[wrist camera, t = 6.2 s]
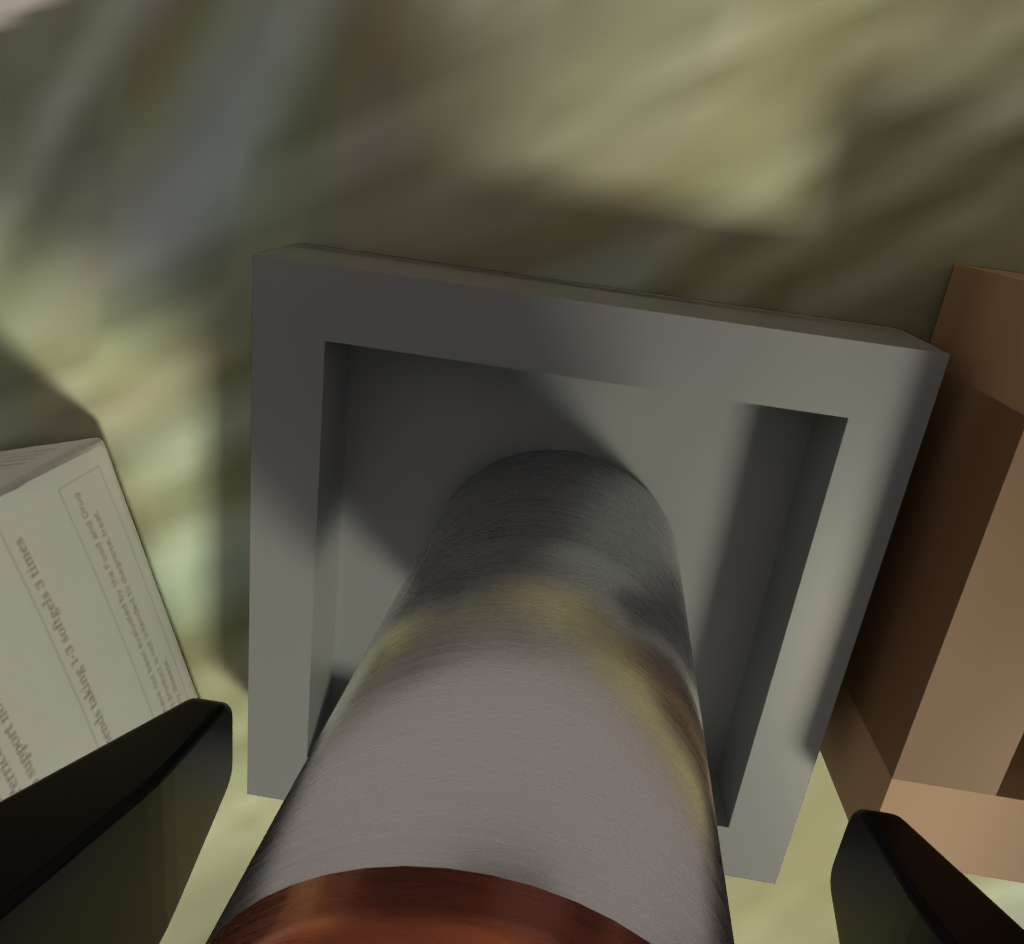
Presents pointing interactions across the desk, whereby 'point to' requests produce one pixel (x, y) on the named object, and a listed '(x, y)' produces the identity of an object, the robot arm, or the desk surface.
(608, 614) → the grey and red cylinder
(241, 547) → the desk surface
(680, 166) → the desk surface
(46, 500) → the supplement box
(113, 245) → the desk surface
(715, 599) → the tray
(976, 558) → the socket block
